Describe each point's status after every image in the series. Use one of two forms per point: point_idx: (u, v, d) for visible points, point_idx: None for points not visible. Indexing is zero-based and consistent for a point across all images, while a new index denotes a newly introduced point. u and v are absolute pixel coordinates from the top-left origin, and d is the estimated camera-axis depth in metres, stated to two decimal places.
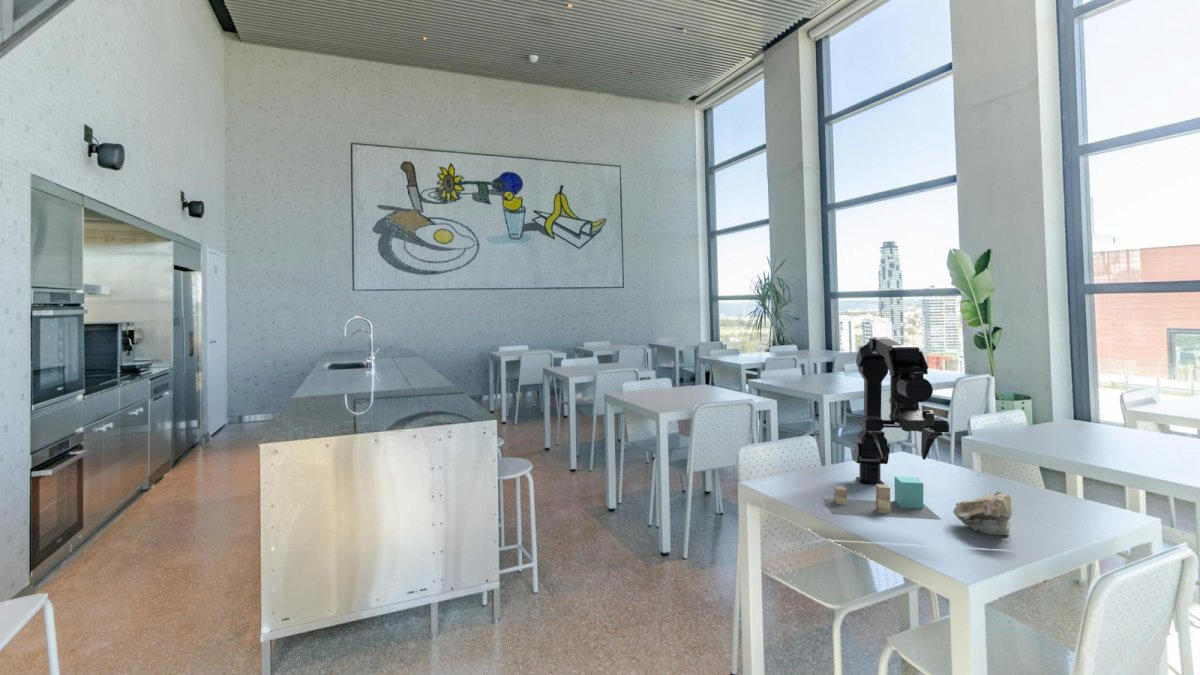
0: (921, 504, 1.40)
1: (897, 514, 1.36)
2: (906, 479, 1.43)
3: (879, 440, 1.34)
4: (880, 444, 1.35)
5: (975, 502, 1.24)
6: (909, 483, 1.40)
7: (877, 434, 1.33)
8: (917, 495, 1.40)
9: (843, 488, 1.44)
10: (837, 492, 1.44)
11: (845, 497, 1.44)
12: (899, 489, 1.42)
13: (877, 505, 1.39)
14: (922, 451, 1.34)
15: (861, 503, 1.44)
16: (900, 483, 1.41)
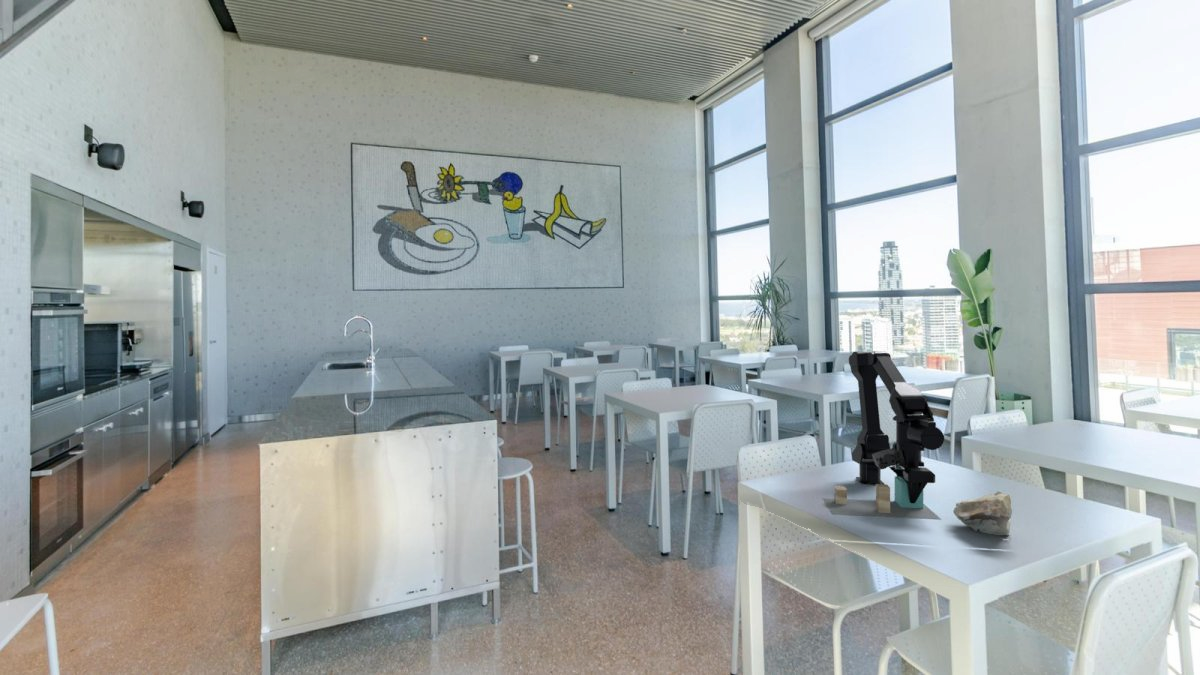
0: (921, 504, 1.40)
1: (897, 514, 1.36)
2: None
3: None
4: None
5: (975, 502, 1.24)
6: None
7: (891, 469, 1.48)
8: None
9: (843, 488, 1.44)
10: (837, 492, 1.44)
11: (845, 497, 1.44)
12: (899, 489, 1.42)
13: (877, 505, 1.39)
14: None
15: (861, 503, 1.44)
16: (900, 483, 1.41)
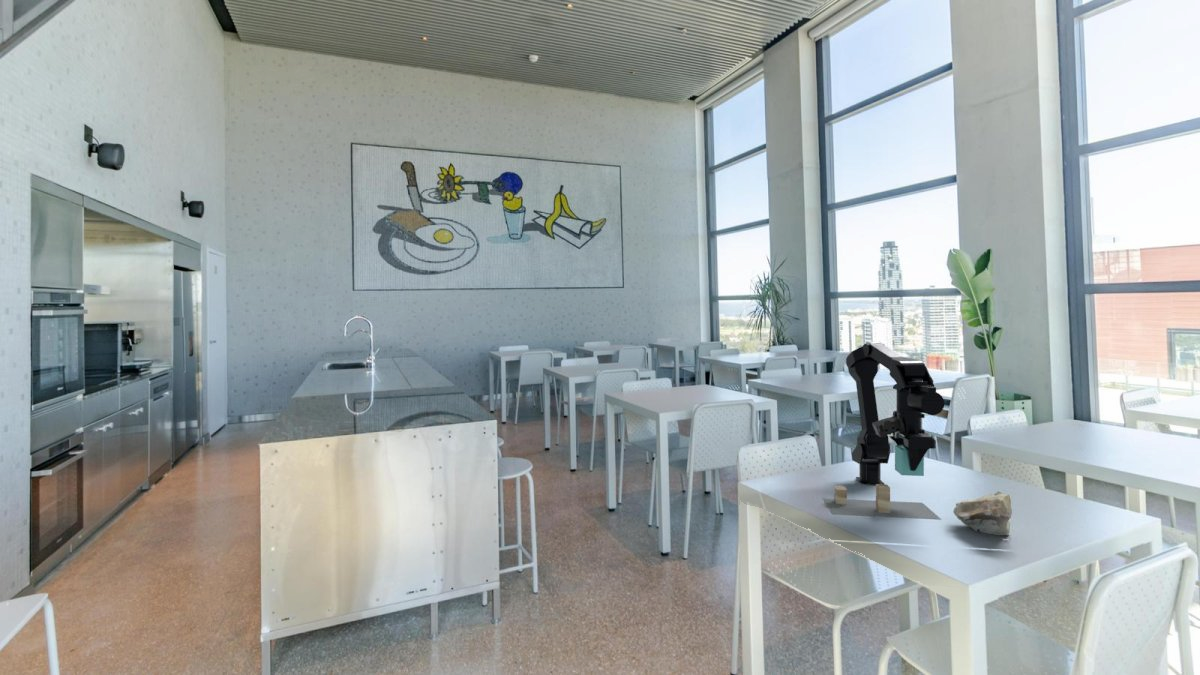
0: (922, 472, 1.39)
1: (897, 514, 1.36)
2: None
3: None
4: None
5: (975, 502, 1.24)
6: None
7: None
8: None
9: (843, 488, 1.44)
10: (837, 492, 1.44)
11: (845, 497, 1.44)
12: (899, 457, 1.41)
13: (877, 505, 1.39)
14: None
15: (861, 503, 1.44)
16: (900, 451, 1.41)
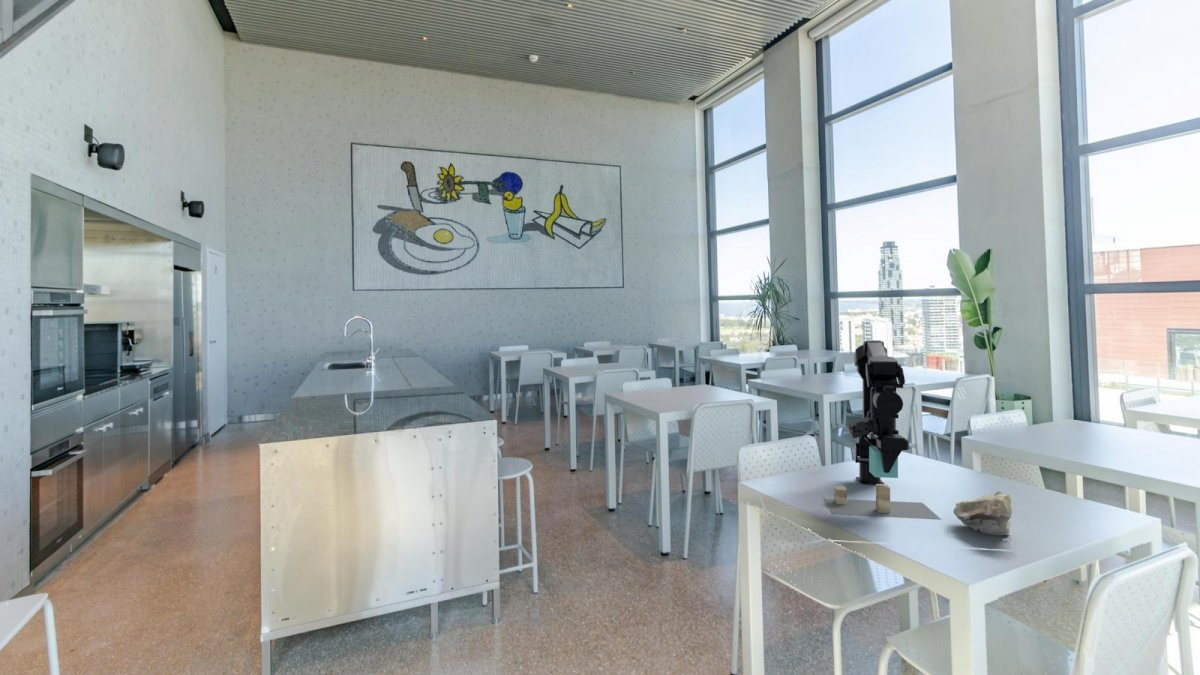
0: (896, 474, 1.35)
1: (897, 514, 1.36)
2: None
3: None
4: None
5: (975, 502, 1.24)
6: None
7: (866, 439, 1.43)
8: None
9: (843, 488, 1.44)
10: (837, 492, 1.44)
11: (845, 497, 1.44)
12: (873, 458, 1.37)
13: (877, 505, 1.39)
14: None
15: (861, 503, 1.44)
16: (874, 452, 1.36)
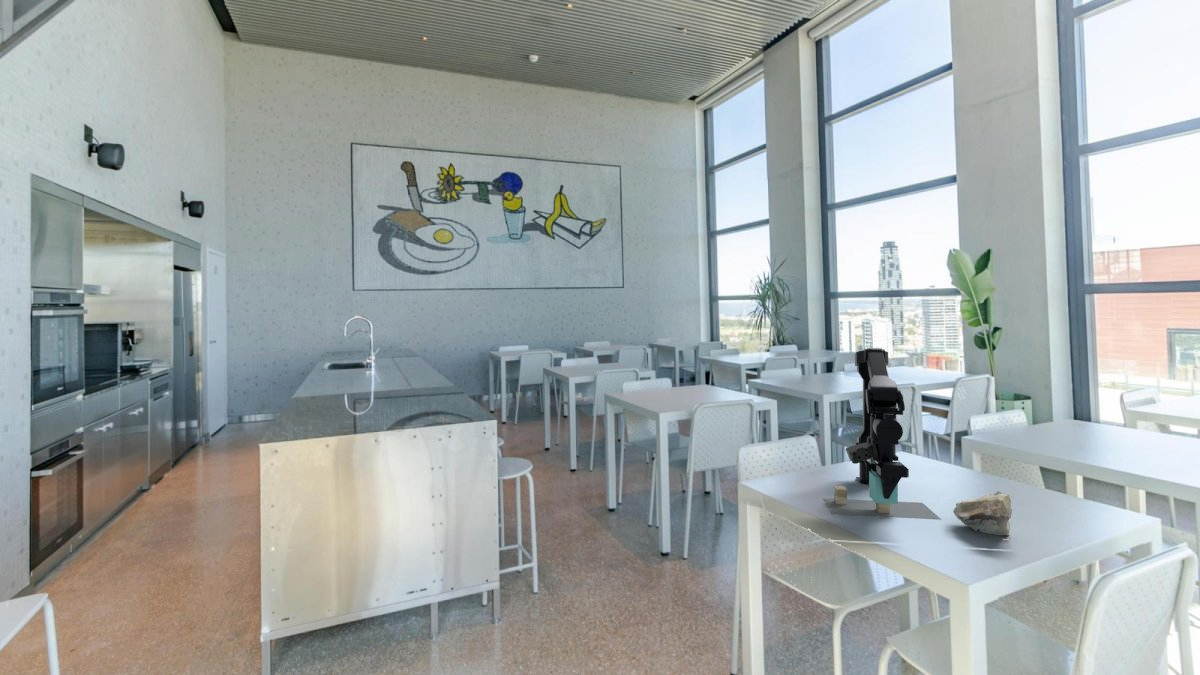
0: (896, 500, 1.35)
1: (897, 514, 1.36)
2: None
3: None
4: None
5: (975, 502, 1.24)
6: None
7: (866, 464, 1.43)
8: None
9: (843, 488, 1.44)
10: (837, 492, 1.44)
11: (845, 497, 1.44)
12: (873, 484, 1.38)
13: (877, 505, 1.39)
14: None
15: (861, 503, 1.44)
16: (874, 478, 1.37)
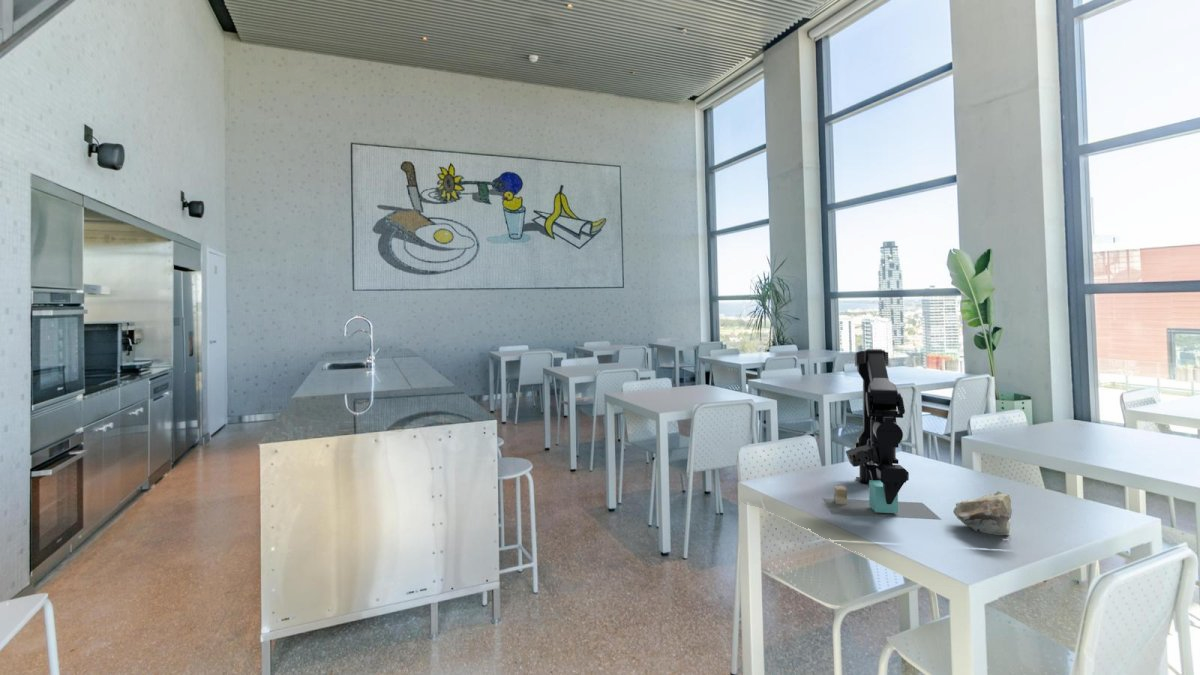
0: (896, 509, 1.35)
1: (897, 514, 1.36)
2: (881, 483, 1.38)
3: (870, 472, 1.44)
4: (871, 477, 1.44)
5: (975, 502, 1.24)
6: None
7: (864, 465, 1.45)
8: None
9: (843, 488, 1.44)
10: (837, 492, 1.44)
11: (845, 497, 1.44)
12: (873, 493, 1.38)
13: None
14: None
15: (861, 503, 1.44)
16: (874, 487, 1.37)
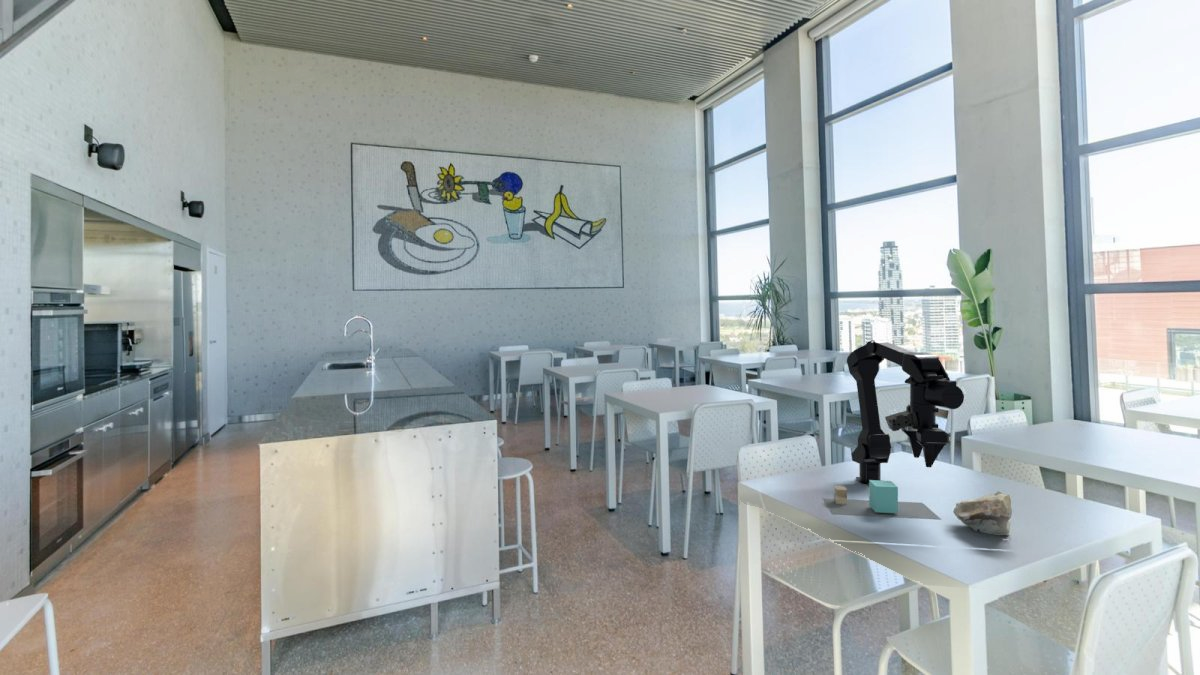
0: (896, 509, 1.35)
1: (897, 514, 1.36)
2: (881, 483, 1.38)
3: (909, 439, 1.47)
4: (910, 443, 1.47)
5: (975, 502, 1.24)
6: (883, 487, 1.36)
7: (903, 431, 1.48)
8: (891, 499, 1.35)
9: (843, 488, 1.44)
10: (837, 492, 1.44)
11: (845, 497, 1.44)
12: (873, 493, 1.38)
13: None
14: None
15: (861, 503, 1.44)
16: (874, 487, 1.37)
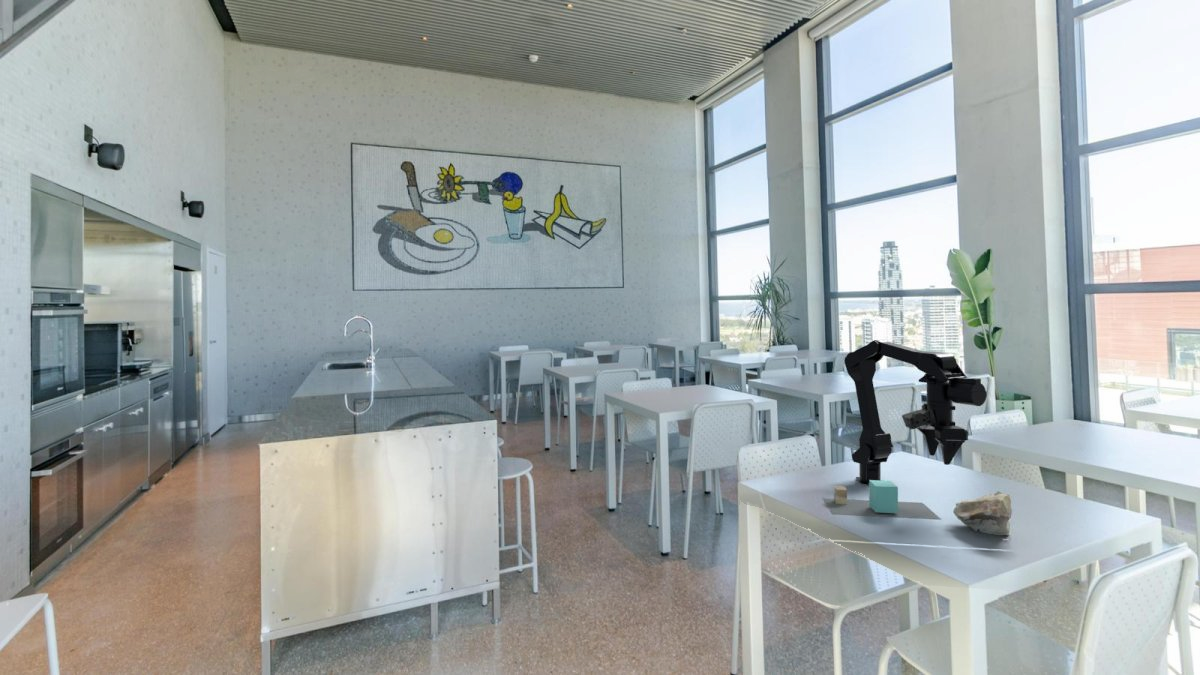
0: (896, 509, 1.35)
1: (897, 514, 1.36)
2: (881, 483, 1.38)
3: (924, 437, 1.49)
4: None
5: (975, 502, 1.24)
6: (883, 487, 1.36)
7: None
8: (891, 499, 1.35)
9: (843, 488, 1.44)
10: (837, 492, 1.44)
11: (845, 497, 1.44)
12: (873, 493, 1.38)
13: None
14: None
15: (861, 503, 1.44)
16: (874, 487, 1.37)
